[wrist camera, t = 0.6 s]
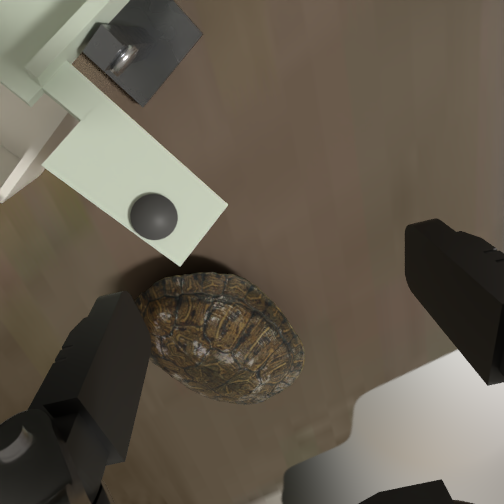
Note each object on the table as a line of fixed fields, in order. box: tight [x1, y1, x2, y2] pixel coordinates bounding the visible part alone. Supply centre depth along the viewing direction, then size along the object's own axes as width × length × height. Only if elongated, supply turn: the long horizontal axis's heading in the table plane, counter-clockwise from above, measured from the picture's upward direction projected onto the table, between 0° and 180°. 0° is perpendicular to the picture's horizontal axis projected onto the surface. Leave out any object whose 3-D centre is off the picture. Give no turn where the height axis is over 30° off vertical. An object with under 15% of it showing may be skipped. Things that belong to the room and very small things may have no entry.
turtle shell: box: [135, 272, 305, 404], centre depth 38 cm, size 16×9×20 cm
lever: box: [0, 0, 228, 266], centre depth 17 cm, size 17×17×4 cm
